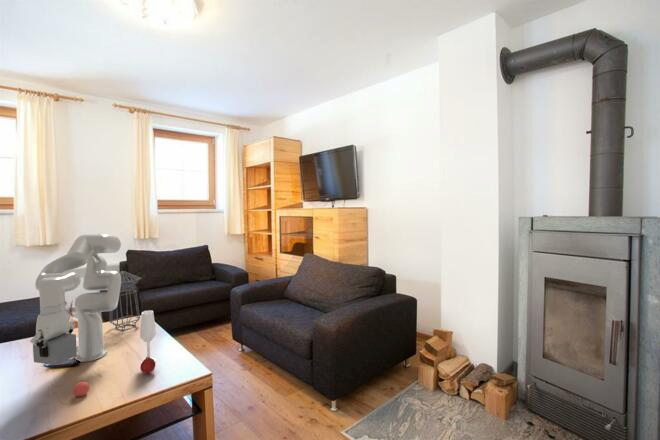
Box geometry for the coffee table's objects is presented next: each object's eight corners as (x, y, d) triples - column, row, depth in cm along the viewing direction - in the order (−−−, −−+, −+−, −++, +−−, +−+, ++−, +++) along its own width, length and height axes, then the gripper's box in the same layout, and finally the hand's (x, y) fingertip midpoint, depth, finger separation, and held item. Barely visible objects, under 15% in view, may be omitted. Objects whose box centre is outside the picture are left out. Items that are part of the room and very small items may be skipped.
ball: (81, 392, 121) (76, 401, 122) (94, 385, 126) (88, 394, 127) (73, 383, 122) (68, 392, 123) (86, 376, 127) (81, 385, 128)
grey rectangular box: (33, 362, 124) (32, 340, 123) (53, 352, 131) (52, 332, 131) (57, 364, 122) (56, 342, 121) (76, 355, 130) (75, 334, 129)
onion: (144, 370, 143) (144, 353, 142) (158, 370, 143) (157, 353, 143) (138, 377, 137) (137, 359, 137) (151, 377, 138) (151, 359, 137)
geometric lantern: (118, 334, 184) (114, 274, 182) (105, 329, 192) (101, 272, 190) (145, 325, 197) (142, 269, 196) (132, 321, 205) (129, 267, 204)
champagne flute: (149, 365, 147) (148, 315, 146) (137, 364, 149) (135, 314, 148) (160, 358, 154) (158, 310, 153) (148, 357, 155) (146, 309, 154)
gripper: (66, 301, 135) (68, 341, 136) (20, 315, 118) (23, 361, 119) (81, 302, 133) (83, 342, 134) (37, 317, 116) (39, 363, 117)
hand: (55, 351), depth 127 cm, fingers closed on grey rectangular box, 7 cm apart
